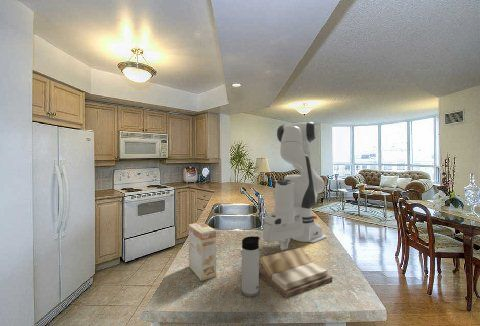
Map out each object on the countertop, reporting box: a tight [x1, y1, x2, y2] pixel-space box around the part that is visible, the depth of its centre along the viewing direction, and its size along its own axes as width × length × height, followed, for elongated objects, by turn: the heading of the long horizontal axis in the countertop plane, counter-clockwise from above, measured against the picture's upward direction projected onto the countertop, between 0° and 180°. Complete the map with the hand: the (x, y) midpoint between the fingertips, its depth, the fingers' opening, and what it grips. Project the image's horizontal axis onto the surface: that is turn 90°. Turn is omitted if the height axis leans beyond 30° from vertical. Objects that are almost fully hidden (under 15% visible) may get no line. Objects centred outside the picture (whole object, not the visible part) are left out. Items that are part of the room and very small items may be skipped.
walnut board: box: [259, 266, 334, 299], centre depth 94 cm, size 24×20×2 cm
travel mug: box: [241, 235, 261, 298], centre depth 83 cm, size 6×7×20 cm
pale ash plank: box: [272, 261, 328, 290], centre depth 90 cm, size 22×8×2 cm, turn 118°
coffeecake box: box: [188, 222, 217, 282], centre depth 98 cm, size 15×7×20 cm, turn 32°
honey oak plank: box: [259, 247, 313, 277], centre depth 97 cm, size 22×8×2 cm
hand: (283, 248), depth 99 cm, fingers closed
